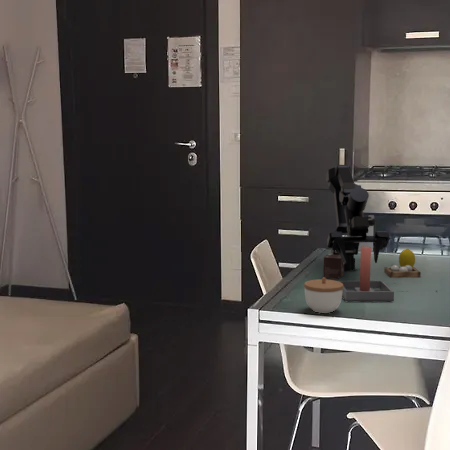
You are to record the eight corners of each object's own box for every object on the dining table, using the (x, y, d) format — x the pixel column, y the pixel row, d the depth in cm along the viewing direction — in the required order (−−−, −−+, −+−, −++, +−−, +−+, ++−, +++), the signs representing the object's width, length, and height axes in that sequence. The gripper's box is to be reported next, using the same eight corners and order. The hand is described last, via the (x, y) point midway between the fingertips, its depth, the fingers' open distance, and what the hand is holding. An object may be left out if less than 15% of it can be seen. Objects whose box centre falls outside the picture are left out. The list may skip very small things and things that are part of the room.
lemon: (416, 272, 246) (417, 249, 245) (400, 272, 246) (401, 249, 245) (412, 269, 251) (413, 247, 250) (396, 269, 251) (397, 246, 250)
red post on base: (354, 291, 217) (355, 245, 215) (370, 291, 218) (372, 245, 215) (358, 296, 211) (359, 249, 209) (375, 296, 212) (376, 249, 209)
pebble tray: (390, 279, 236) (390, 272, 235) (384, 274, 243) (384, 267, 243) (420, 279, 236) (420, 272, 235) (413, 274, 244) (413, 267, 243)
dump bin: (337, 290, 221) (337, 280, 221) (382, 290, 222) (382, 280, 221) (345, 302, 207) (346, 292, 207) (393, 301, 208) (394, 291, 207)
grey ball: (399, 276, 237) (400, 267, 236) (397, 274, 240) (397, 265, 239) (408, 276, 237) (409, 267, 236) (406, 274, 240) (406, 265, 239)
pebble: (404, 274, 239) (404, 266, 239) (402, 272, 242) (402, 264, 241) (413, 274, 239) (413, 266, 239) (410, 272, 242) (411, 264, 242)
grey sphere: (391, 274, 239) (391, 266, 238) (389, 272, 242) (389, 264, 241) (400, 274, 239) (400, 266, 238) (398, 272, 242) (398, 264, 241)
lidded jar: (295, 310, 198) (296, 277, 197) (319, 303, 206) (320, 271, 204) (326, 318, 191) (327, 284, 189) (350, 310, 198) (351, 277, 197)
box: (340, 280, 235) (341, 258, 234) (322, 278, 237) (323, 257, 236) (344, 276, 241) (344, 254, 240) (326, 274, 243) (327, 253, 242)
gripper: (329, 205, 221) (334, 248, 212) (389, 205, 221) (397, 247, 212) (324, 226, 230) (329, 267, 221) (382, 226, 231) (389, 267, 222)
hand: (361, 262), depth 219 cm, fingers open, 9 cm apart
